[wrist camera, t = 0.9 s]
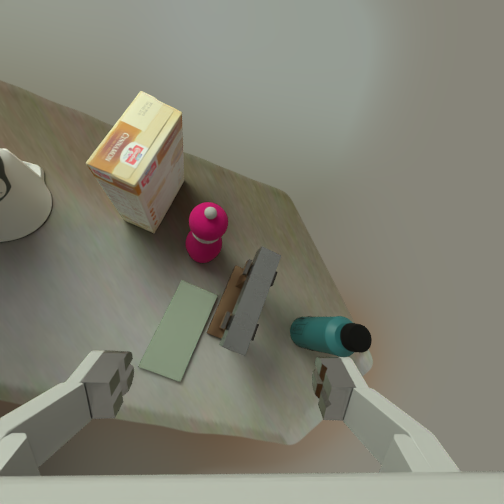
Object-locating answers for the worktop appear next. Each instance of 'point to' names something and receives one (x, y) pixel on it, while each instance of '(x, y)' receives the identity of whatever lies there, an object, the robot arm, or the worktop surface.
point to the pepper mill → (206, 231)
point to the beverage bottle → (330, 335)
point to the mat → (178, 331)
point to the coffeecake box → (142, 161)
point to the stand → (230, 301)
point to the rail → (250, 302)
